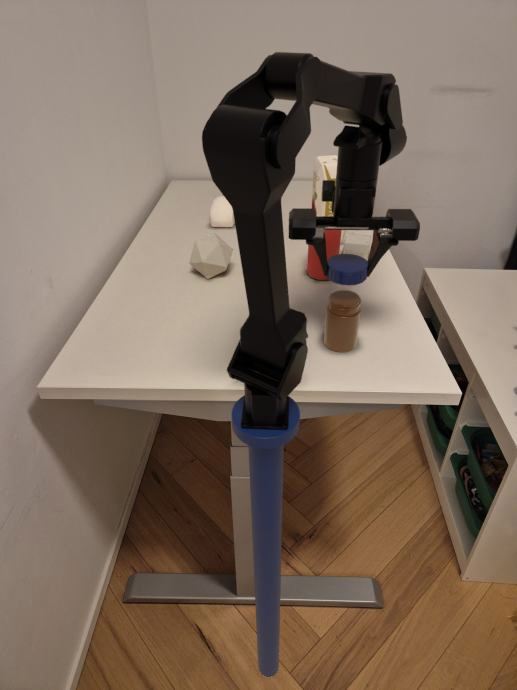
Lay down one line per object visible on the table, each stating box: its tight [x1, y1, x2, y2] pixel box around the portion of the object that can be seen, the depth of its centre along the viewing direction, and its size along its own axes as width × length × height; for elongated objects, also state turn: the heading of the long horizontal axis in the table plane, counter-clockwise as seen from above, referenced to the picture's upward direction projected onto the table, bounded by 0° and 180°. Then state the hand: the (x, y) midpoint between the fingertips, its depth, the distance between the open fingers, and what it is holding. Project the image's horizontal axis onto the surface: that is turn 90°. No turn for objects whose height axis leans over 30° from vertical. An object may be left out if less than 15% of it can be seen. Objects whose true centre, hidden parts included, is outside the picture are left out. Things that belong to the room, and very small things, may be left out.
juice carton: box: [311, 154, 346, 244], centre depth 111 cm, size 8×9×19 cm
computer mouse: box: [209, 195, 235, 228], centre depth 126 cm, size 6×13×6 cm, turn 174°
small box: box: [342, 232, 372, 261], centre depth 106 cm, size 6×6×5 cm
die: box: [188, 232, 234, 280], centre depth 100 cm, size 8×9×10 cm
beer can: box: [306, 230, 342, 281], centre depth 98 cm, size 7×7×12 cm
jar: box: [323, 289, 362, 353], centre depth 78 cm, size 6×6×9 cm
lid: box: [327, 253, 368, 286], centre depth 74 cm, size 6×6×2 cm
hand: (346, 275), depth 74 cm, fingers closed on lid, 6 cm apart
